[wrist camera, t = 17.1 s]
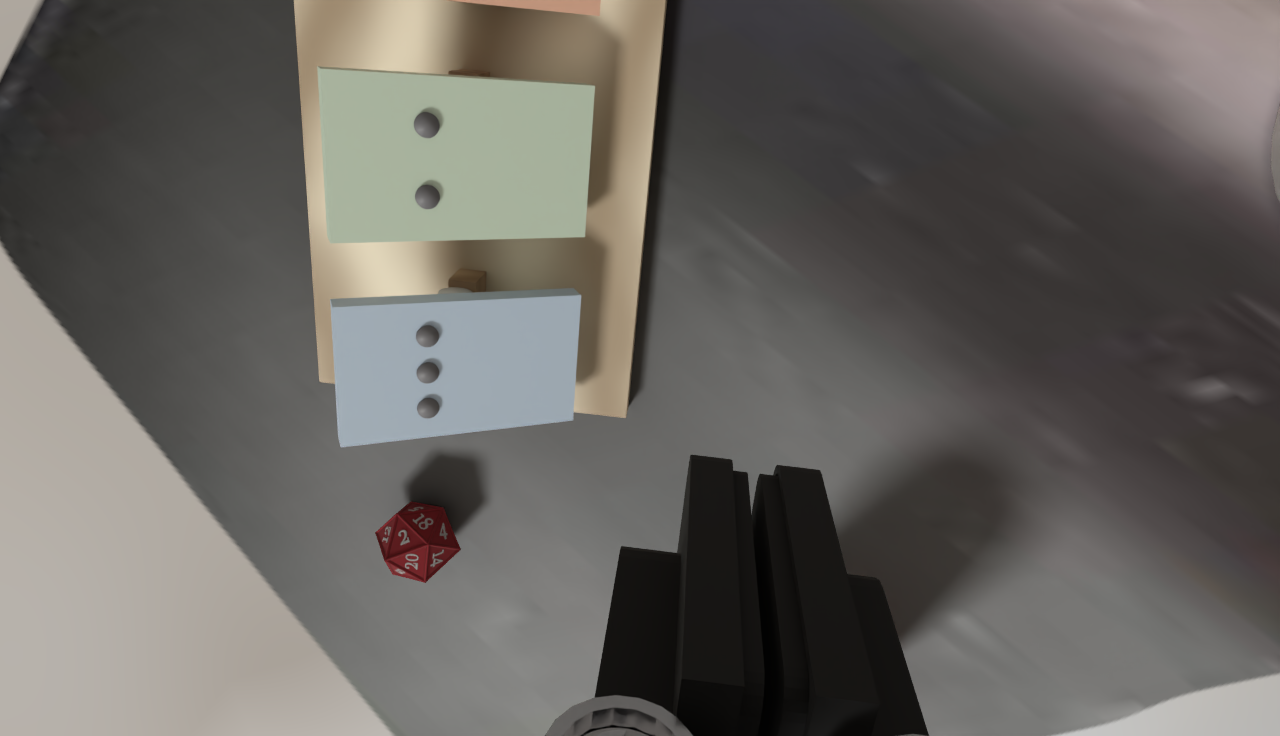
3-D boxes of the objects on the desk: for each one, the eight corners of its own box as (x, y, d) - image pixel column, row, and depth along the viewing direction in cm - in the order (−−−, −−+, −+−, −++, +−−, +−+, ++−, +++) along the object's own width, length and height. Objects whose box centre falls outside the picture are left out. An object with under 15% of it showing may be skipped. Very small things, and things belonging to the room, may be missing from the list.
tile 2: (572, 79, 34) (596, 86, 31) (564, 223, 36) (585, 237, 34) (313, 62, 29) (321, 68, 27) (323, 227, 32) (330, 244, 29)
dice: (467, 556, 44) (445, 603, 41) (387, 540, 44) (358, 586, 41) (474, 497, 43) (452, 541, 39) (391, 481, 43) (361, 523, 39)
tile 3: (562, 278, 37) (582, 296, 35) (555, 398, 39) (573, 421, 37) (326, 287, 33) (332, 308, 31) (334, 421, 35) (341, 448, 33)
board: (682, -164, 31) (680, -183, 28) (628, 407, 40) (622, 435, 37) (295, -199, 31) (254, -221, 28) (330, 372, 41) (302, 397, 38)
